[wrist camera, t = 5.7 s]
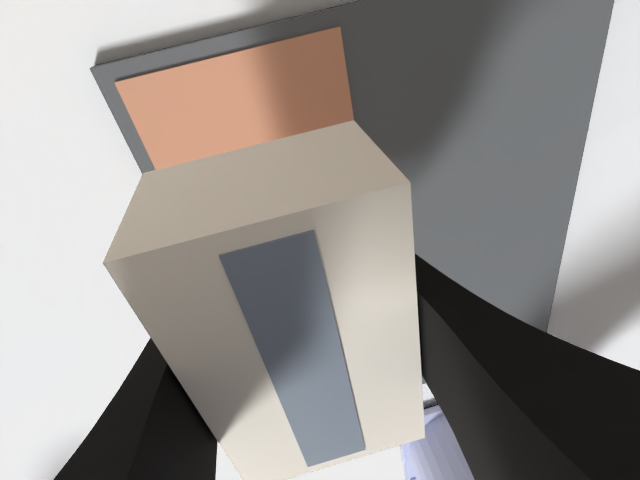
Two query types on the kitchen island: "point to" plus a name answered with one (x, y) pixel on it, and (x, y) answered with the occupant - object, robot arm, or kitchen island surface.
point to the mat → (404, 117)
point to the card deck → (283, 297)
